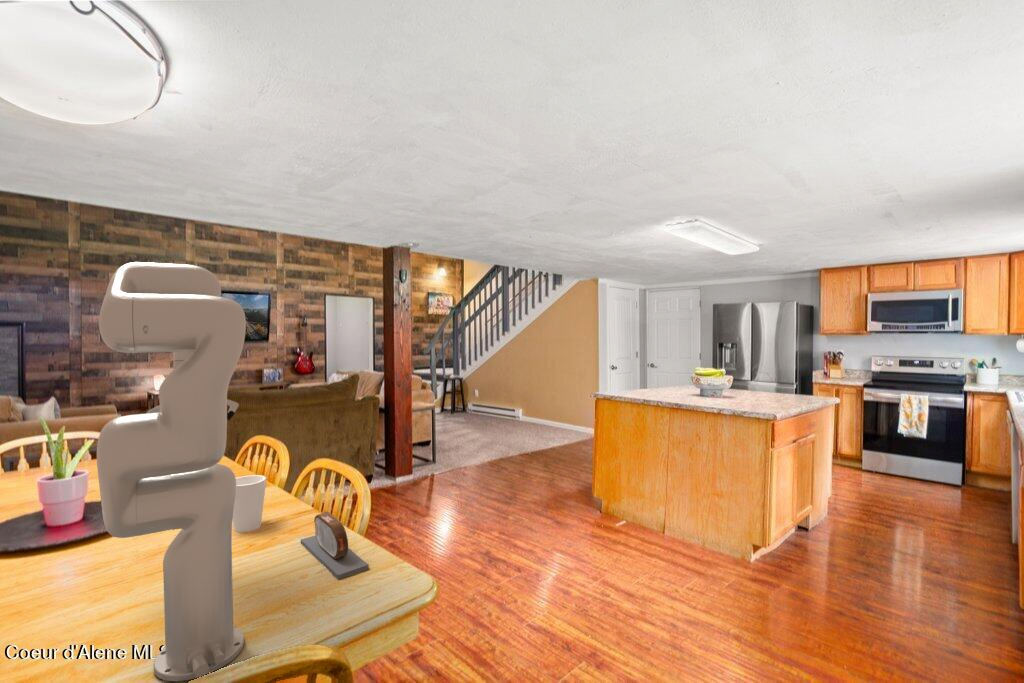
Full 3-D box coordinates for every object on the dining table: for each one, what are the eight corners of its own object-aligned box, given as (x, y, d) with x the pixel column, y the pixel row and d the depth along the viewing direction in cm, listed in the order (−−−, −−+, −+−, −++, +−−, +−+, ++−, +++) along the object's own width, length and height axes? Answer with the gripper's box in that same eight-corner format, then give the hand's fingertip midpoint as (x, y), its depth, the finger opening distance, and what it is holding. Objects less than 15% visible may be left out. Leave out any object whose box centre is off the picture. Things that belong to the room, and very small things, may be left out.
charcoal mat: (368, 569, 110) (368, 564, 110) (337, 579, 105) (337, 575, 105) (328, 535, 128) (328, 531, 128) (300, 543, 123) (300, 539, 123)
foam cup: (274, 524, 136) (273, 477, 135) (243, 537, 127) (242, 487, 127) (251, 518, 140) (250, 473, 139) (219, 531, 131) (218, 483, 131)
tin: (349, 561, 112) (349, 524, 111) (336, 565, 109) (335, 528, 109) (325, 540, 123) (324, 506, 123) (312, 543, 121) (312, 509, 121)
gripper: (233, 365, 118) (235, 435, 118) (144, 369, 107) (146, 447, 107) (241, 366, 112) (242, 440, 113) (147, 371, 101) (149, 454, 101)
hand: (195, 444), depth 110 cm, fingers open, 9 cm apart
